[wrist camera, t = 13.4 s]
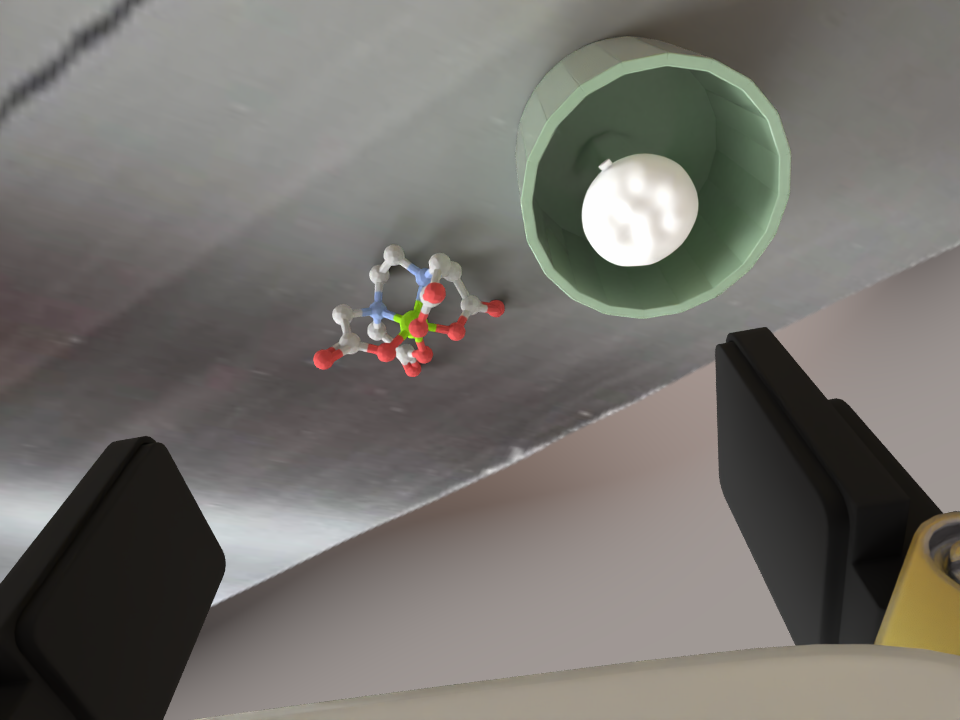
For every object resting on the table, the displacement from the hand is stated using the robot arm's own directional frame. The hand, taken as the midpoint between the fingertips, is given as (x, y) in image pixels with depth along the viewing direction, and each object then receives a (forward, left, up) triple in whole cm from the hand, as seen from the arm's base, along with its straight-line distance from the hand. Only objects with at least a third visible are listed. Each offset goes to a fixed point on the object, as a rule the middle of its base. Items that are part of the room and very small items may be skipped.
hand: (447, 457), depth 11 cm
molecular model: (+8, -5, -26) cm, 28 cm away
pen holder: (+2, +7, -26) cm, 27 cm away
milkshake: (+2, +6, -26) cm, 26 cm away
